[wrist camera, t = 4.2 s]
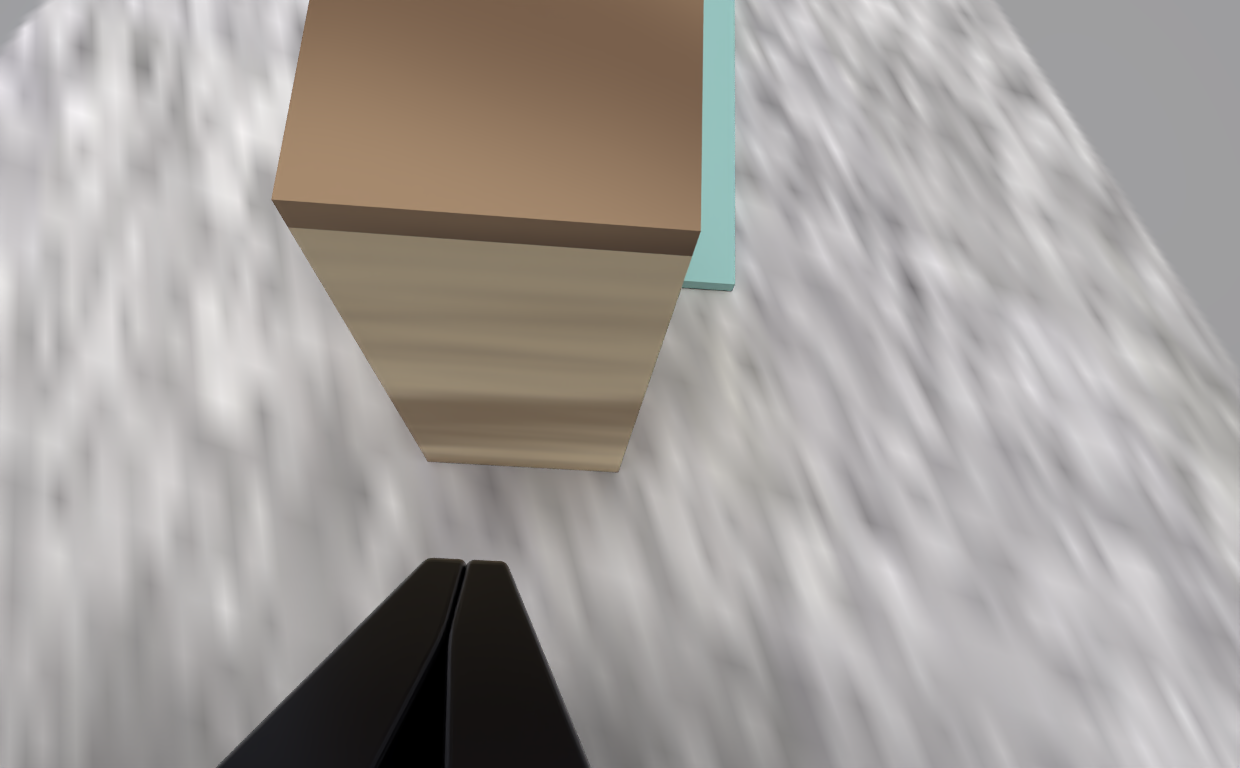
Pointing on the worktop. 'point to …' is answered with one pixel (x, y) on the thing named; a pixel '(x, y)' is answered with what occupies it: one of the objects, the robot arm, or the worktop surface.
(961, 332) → the worktop surface
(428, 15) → the maple block
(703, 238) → the rubber mat
